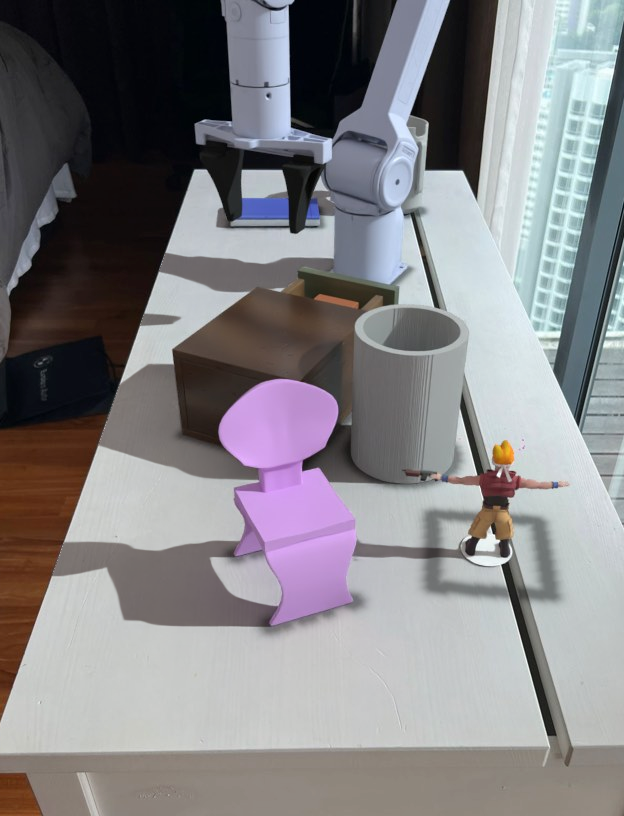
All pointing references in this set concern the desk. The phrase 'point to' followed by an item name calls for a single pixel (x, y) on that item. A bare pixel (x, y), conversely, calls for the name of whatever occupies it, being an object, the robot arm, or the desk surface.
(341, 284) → the drawer
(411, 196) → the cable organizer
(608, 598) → the desk surface
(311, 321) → the cabinet
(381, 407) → the cup
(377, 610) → the desk surface
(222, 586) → the desk surface
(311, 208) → the blue book
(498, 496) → the action figure
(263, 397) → the toy chair
